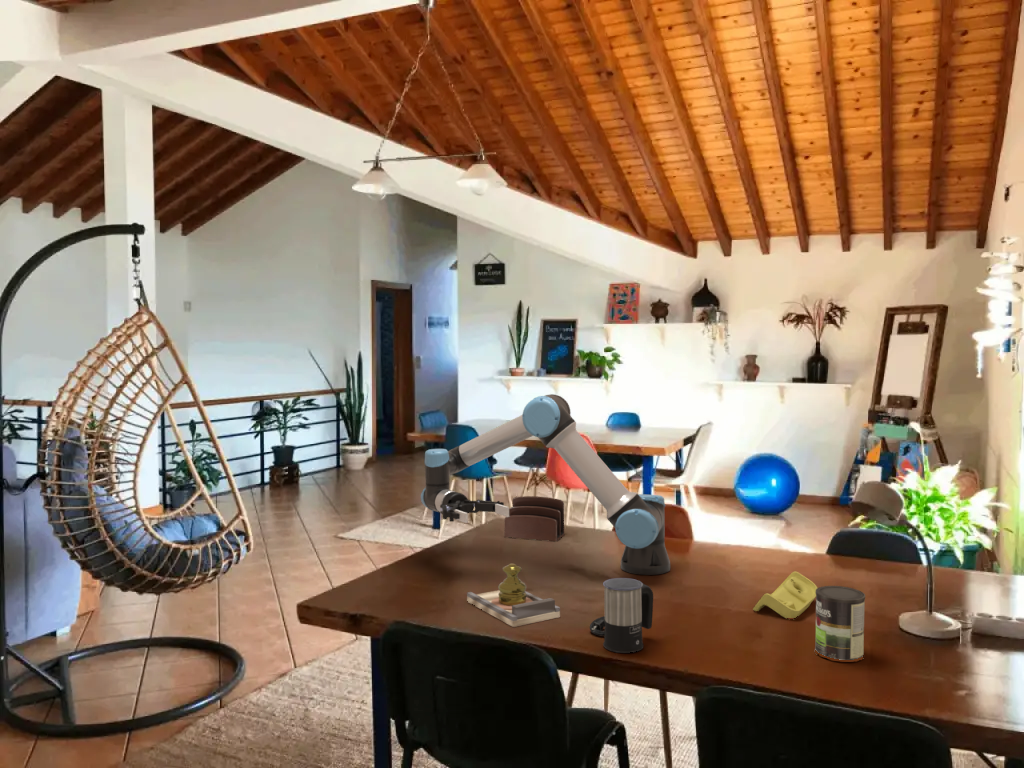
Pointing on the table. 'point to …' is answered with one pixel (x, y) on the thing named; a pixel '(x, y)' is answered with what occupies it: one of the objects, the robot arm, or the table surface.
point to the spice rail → (514, 624)
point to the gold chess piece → (512, 587)
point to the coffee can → (840, 622)
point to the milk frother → (624, 614)
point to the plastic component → (790, 596)
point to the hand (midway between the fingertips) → (487, 514)
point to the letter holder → (535, 518)
